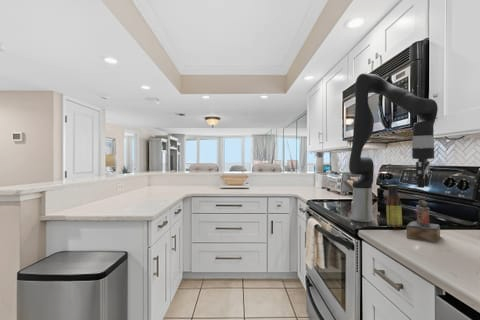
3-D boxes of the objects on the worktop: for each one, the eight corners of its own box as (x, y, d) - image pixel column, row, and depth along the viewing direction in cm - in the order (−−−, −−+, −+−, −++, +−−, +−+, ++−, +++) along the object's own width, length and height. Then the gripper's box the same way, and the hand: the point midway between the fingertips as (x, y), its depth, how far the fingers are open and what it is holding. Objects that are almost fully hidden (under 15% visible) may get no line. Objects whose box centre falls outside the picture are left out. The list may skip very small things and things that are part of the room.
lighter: (414, 222, 114) (414, 199, 114) (423, 222, 113) (423, 199, 113) (422, 227, 106) (421, 202, 106) (431, 227, 106) (431, 202, 106)
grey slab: (406, 237, 110) (406, 225, 110) (411, 232, 117) (411, 221, 117) (436, 242, 103) (436, 229, 103) (440, 236, 110) (439, 224, 110)
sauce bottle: (405, 228, 124) (404, 185, 124) (395, 229, 122) (395, 186, 122) (392, 225, 130) (392, 184, 130) (383, 226, 128) (382, 184, 128)
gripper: (415, 147, 117) (415, 184, 118) (408, 147, 107) (408, 187, 107) (436, 147, 112) (436, 185, 112) (431, 146, 102) (431, 189, 102)
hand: (423, 186), depth 110 cm, fingers open, 8 cm apart
